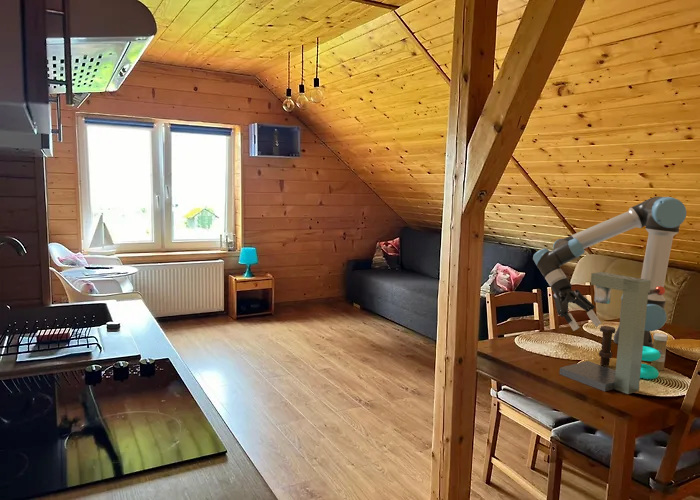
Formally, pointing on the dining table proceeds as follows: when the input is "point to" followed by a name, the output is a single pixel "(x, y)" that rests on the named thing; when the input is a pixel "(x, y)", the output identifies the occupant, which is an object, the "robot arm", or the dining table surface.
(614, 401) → the dining table surface
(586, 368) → the press
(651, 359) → the donuts
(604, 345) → the bolt
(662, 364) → the sprinkles bottle
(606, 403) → the dining table surface
